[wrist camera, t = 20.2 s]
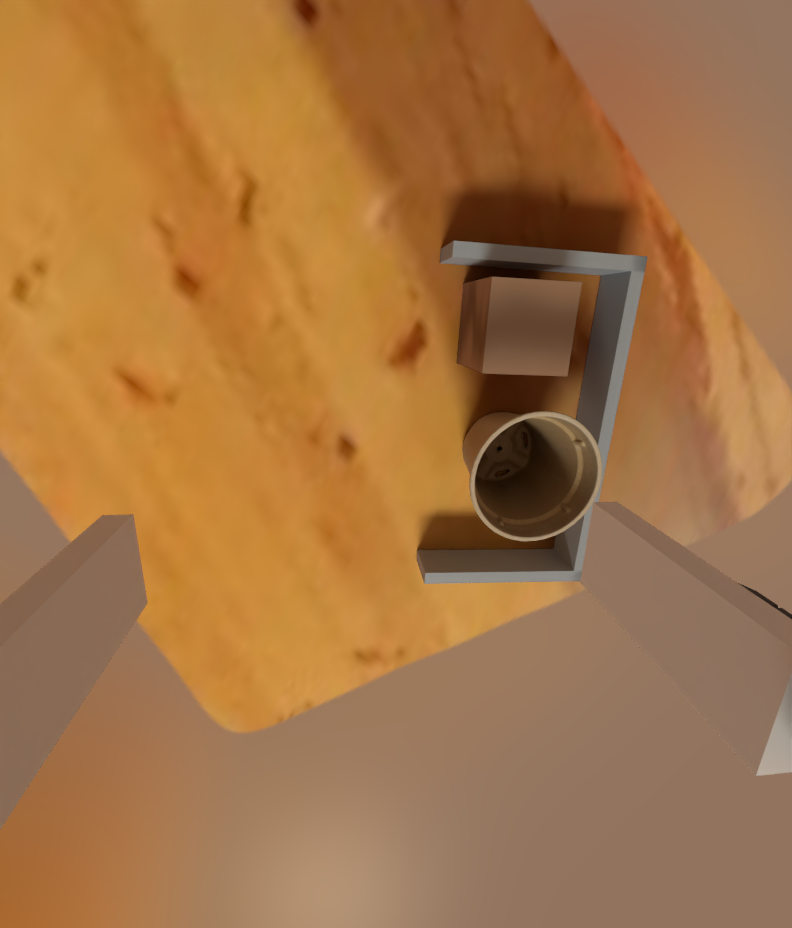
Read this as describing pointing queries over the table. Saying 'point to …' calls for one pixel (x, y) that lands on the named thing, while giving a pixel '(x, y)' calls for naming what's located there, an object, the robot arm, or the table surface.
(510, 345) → the walnut block
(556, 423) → the flower pot
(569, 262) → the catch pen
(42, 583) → the robot arm
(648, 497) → the table surface
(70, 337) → the table surface
